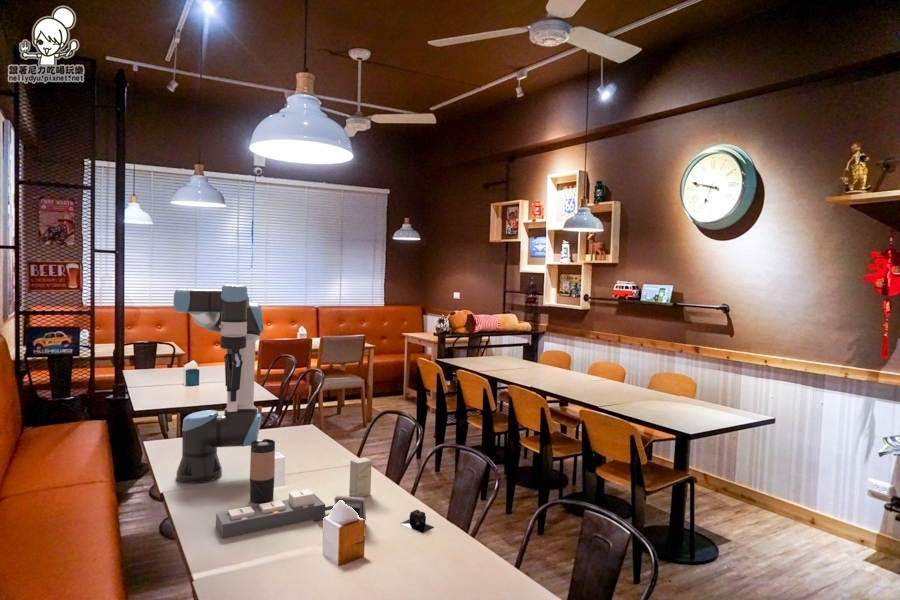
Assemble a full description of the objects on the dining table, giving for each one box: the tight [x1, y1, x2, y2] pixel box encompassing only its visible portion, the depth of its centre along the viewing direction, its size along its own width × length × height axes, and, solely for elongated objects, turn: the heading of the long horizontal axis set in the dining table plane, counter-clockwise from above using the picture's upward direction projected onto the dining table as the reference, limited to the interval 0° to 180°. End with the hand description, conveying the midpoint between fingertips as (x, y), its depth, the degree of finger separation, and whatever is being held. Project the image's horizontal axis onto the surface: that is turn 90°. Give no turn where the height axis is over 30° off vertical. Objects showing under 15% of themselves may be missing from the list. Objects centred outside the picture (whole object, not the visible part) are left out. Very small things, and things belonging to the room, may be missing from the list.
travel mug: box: [249, 438, 276, 505], centre depth 189 cm, size 8×8×20 cm
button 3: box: [288, 488, 315, 508], centre depth 179 cm, size 4×6×5 cm
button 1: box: [227, 505, 254, 520], centre depth 169 cm, size 4×6×5 cm
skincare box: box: [348, 456, 373, 498], centre depth 199 cm, size 6×4×12 cm
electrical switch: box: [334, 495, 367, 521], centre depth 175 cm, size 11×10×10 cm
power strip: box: [215, 493, 335, 539], centre depth 175 cm, size 9×36×5 cm, turn 124°
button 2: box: [258, 499, 285, 514], centre depth 174 cm, size 4×6×5 cm
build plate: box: [399, 509, 435, 534], centre depth 177 cm, size 12×7×5 cm, turn 51°
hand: (232, 411), depth 179 cm, fingers closed
